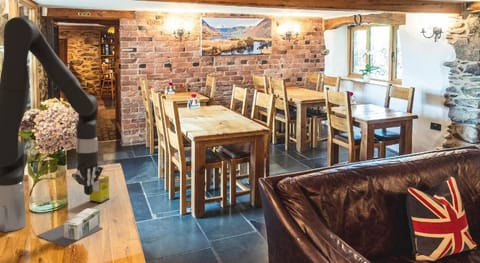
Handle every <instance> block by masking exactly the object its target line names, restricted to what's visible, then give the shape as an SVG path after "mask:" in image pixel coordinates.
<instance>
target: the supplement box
mask: <svg viewBox="0 0 480 263" xmlns="http://www.w3.org/2000/svg"><path fill="white" fill-rule="evenodd" d="M95 177H96V176H95ZM109 178H110V176H109V175H106V174H105V175H104V174H100V176H99V178H98V180H97V182H94V183H93V192H92V194H91V195H89V202H90V203H96V204H104V203H106V202H107V201H109V200H110V179H109Z"/></svg>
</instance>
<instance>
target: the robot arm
mask: <svg viewBox="0 0 480 263" xmlns="http://www.w3.org/2000/svg"><path fill="white" fill-rule="evenodd" d="M29 52H30V53H31V54H32V55H33V56H34V57H35V59H37V61H38V62H39V64H40V65H41V66H42V69H43V70H44V72H45V73H46V75H47V76H48V78H49V80H50V81H51V82H52V83H53V84H54V85H55V87H56V88H57V89H58V90H59V91H60V92H61V93H62V95H63V96H64V98H65V99H66V101H67V102H68V104H69V105H70V107H71V108H72V110H74V112H75V113H77V114H78V120H77V122H76V123H77V124H76V130H75V131H76V132H75V134H76V141H75V147H76V148H75V152H76V155H75V156H76V163H77V167H76V172H75V173H72V174H71V176H72V177H73V180H75V181H76V183H78V184H79V186H83V193H84V194H85V195H86V196H90V195H91V194H92V192H93V183H94V182H97V180H98V178H99V176H100V175H102V172H103V170H104V167H102V166H100V165H99V163H98V162H99V141H98V126H97V122H98V113H99V111H98V110H99V104H98V100H97V98H96V97H95V96H94V95H92V94H89V93H86V92H85V90H84V89H83V88H82V86H81V83H80V81H79V79H78V78H76V76H75V75H74V73H73V72H72V71H71V70H70V69H69V67H67V65H66V64H65V63H64V62H63V61H62V60H61V59H60V57H58V55H57V54H56V52H55V51H54V49H53V48H52V47H51V46H50V44H49V43H48V41H47V40H46V38H45V37H44V35H43V33H42V32H41V30H40V29H39V27H38V25H37V23H35V22H34V21H33V20H32V19H29V18H27V17H26V18H25V17H19V16H16V17H15V16H14V17H12V18H9V19H8V20H7V21H6V23H5V25H4V28H3V58H2V64H1V71H0V231H1V232H3V233H7V232H14V231H18V230H21V229H23V228H25V227H26V226H27V213H26V198H25V197H26V194H25V180H24V178H25V176H24V175H25V149H24V145H23V143H22V142H21V140H20V139H19V135H20V129H21V125H22V122H23V120H24V116H25V113H26V110H27V106H28V102H29V98H30V97H29V96H30V88H31V86H30V85H31V84H30V74H29V70H28V69H29V68H28V57H29ZM95 176H96V177H95Z"/></svg>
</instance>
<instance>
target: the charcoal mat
mask: <svg viewBox="0 0 480 263" xmlns="http://www.w3.org/2000/svg"><path fill="white" fill-rule="evenodd" d="M101 230H103V227H100V226H99V225H98V226H96V227H95V228H93V229H92V230H90V231H89V232H88V233H86V234H85V235H84V236H82V237H81V238H80V239H78V240H74V239H69V238H64V224H61V225H59V226H57V227H54V228H52V229H49V230H47V231H44V232H42V233H40V234H37V235H36V236H37V237H38V238H41V239H44V240H46V241H48V242H51V243H53V244H56V245H58V246H61V247H64V248H65V247H67V246H69V245H71V244H73V243H76V242H77V241H80V240H82V239H83V238H86V237H88V236H90V235H92V234H94V233H97V232H99V231H101Z"/></svg>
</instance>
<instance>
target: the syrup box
mask: <svg viewBox="0 0 480 263" xmlns="http://www.w3.org/2000/svg"><path fill="white" fill-rule="evenodd" d="M63 224H64V238H69V239H74V240H78V239H80V238H81V237H82V236H84V235H85V234H86V233H88V232H89V231H90V230H92V229H93V228H95V227H96V226H98V227H99V225H101V210H100V209H94V208H88V207H87V208H85V209H83V210H81V212H79V213H77V214H76V215H74V216H73V217H71V218H69V219H68V220H66V221H65V222H63ZM63 224H62V225H63ZM80 240H81V239H80ZM78 241H79V240H78Z"/></svg>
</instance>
